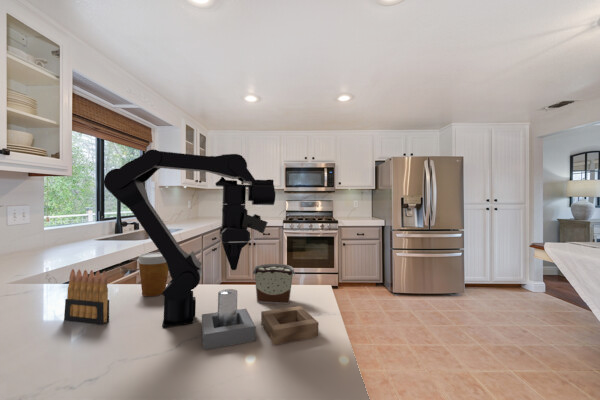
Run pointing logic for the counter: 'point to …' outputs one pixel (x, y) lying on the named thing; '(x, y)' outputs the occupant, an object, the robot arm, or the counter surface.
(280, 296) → the food container
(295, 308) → the block
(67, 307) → the ammunition clip
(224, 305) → the pin
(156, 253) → the disposable coffee cup
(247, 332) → the socket block
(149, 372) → the counter surface
